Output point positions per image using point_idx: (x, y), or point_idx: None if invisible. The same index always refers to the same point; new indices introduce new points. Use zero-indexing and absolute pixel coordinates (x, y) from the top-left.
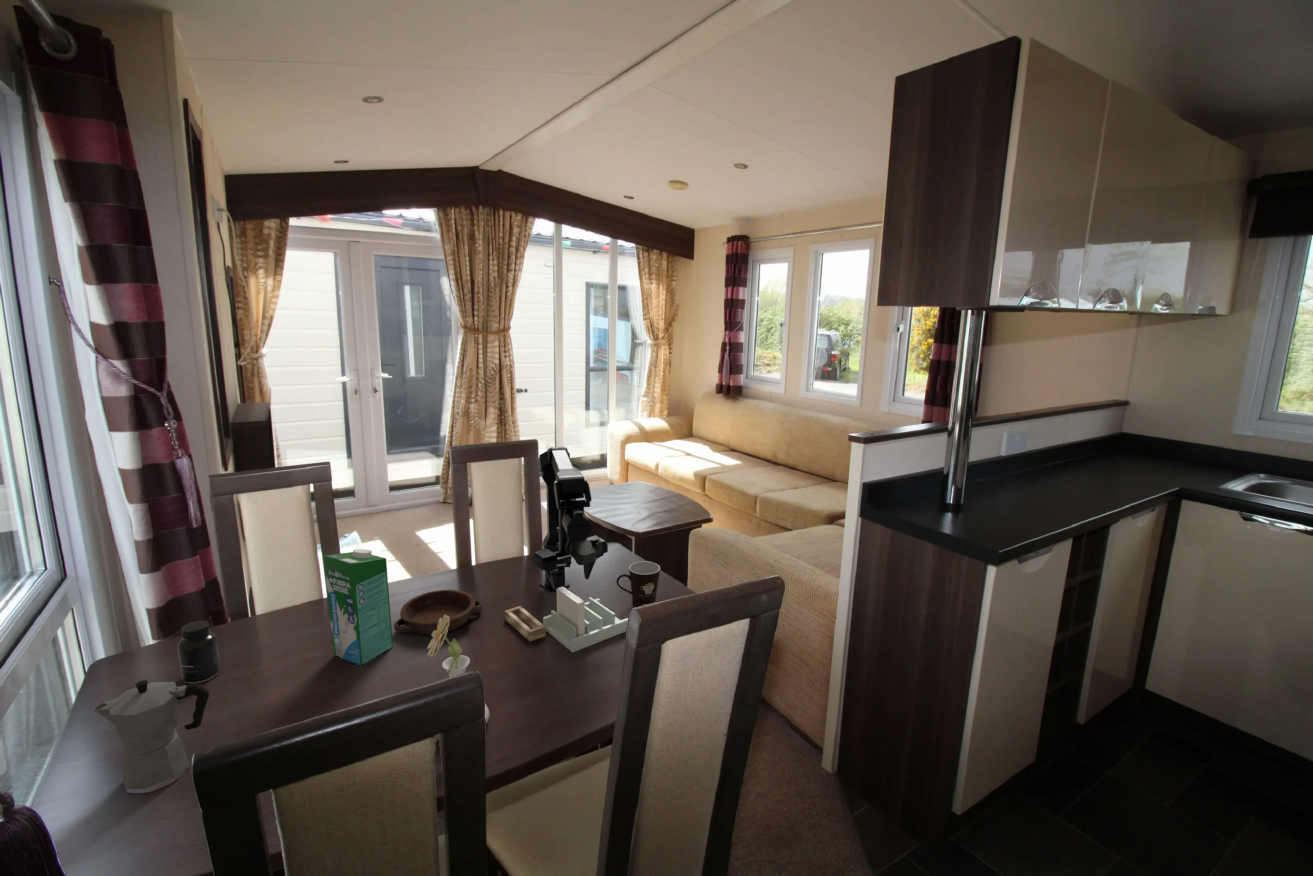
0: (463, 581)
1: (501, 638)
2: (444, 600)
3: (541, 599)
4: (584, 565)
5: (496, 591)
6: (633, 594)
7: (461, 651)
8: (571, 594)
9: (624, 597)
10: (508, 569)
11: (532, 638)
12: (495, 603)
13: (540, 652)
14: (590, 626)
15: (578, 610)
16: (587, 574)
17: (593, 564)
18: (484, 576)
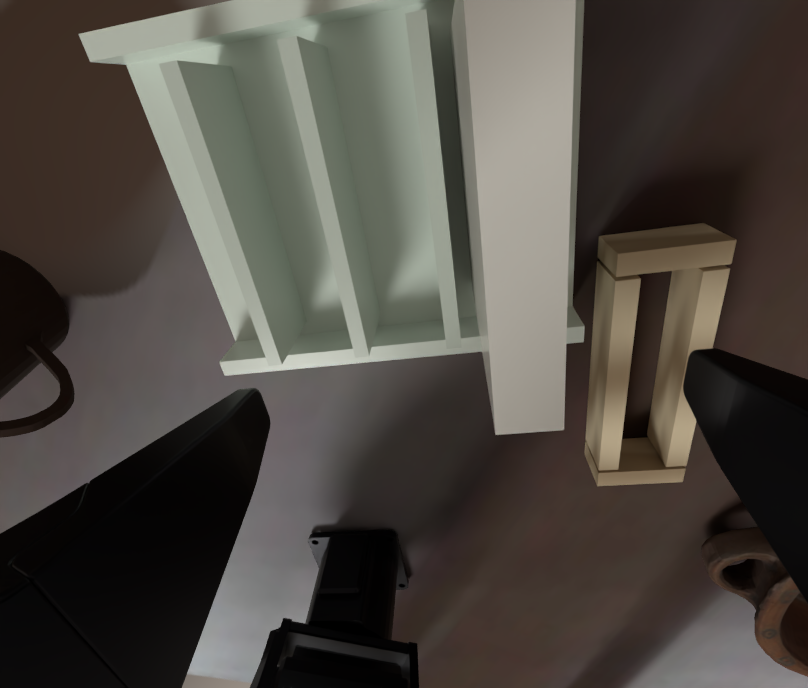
0: (618, 677)
1: (787, 324)
2: (806, 629)
3: (449, 506)
4: (206, 572)
5: (564, 604)
6: (24, 327)
7: None
8: (509, 256)
9: (104, 373)
10: (459, 675)
11: (693, 228)
12: (616, 552)
13: (736, 74)
14: (354, 172)
15: None
16: (225, 427)
17: (30, 525)
18: (546, 674)
